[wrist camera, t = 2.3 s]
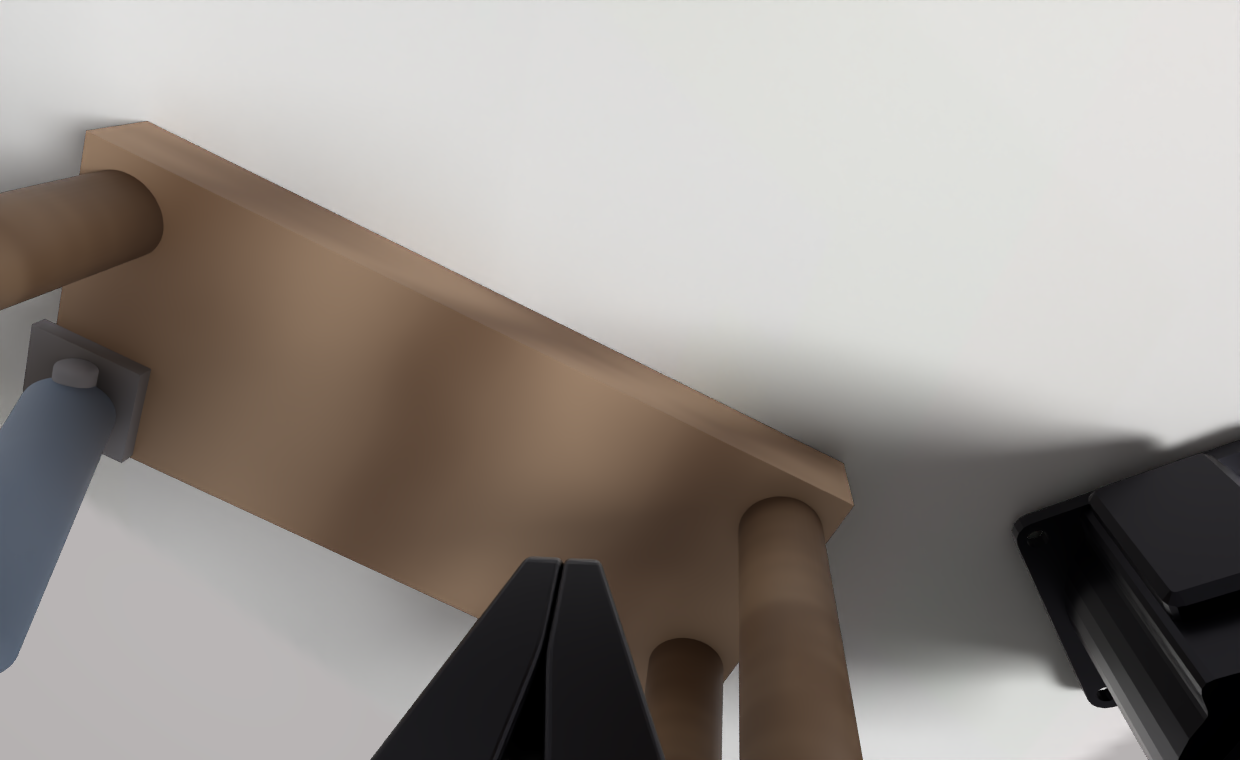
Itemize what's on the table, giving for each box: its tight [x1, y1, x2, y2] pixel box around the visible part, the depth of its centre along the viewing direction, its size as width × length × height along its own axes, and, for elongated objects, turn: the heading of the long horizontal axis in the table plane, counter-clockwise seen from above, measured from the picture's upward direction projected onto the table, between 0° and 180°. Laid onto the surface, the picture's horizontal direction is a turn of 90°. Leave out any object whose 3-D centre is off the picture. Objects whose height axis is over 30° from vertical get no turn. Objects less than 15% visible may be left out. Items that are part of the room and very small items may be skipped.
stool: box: [0, 121, 863, 760], centre depth 17 cm, size 20×8×10 cm, turn 65°
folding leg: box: [0, 358, 116, 673], centre depth 17 cm, size 2×2×8 cm
